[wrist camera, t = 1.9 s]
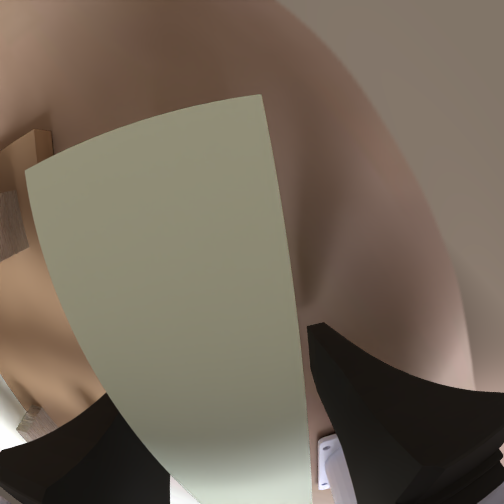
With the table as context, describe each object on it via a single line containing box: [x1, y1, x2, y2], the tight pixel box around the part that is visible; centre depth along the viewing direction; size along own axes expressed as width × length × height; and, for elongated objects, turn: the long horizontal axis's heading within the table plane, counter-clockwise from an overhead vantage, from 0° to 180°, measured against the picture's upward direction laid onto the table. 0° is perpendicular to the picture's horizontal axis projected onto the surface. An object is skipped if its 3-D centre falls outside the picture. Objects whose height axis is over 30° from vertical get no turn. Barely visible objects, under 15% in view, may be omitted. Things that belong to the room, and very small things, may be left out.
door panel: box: [25, 94, 312, 504], centre depth 8 cm, size 14×3×7 cm, turn 10°
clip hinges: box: [0, 190, 59, 442], centre depth 8 cm, size 14×7×2 cm, turn 10°
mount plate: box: [0, 129, 106, 427], centre depth 10 cm, size 18×10×1 cm, turn 10°
